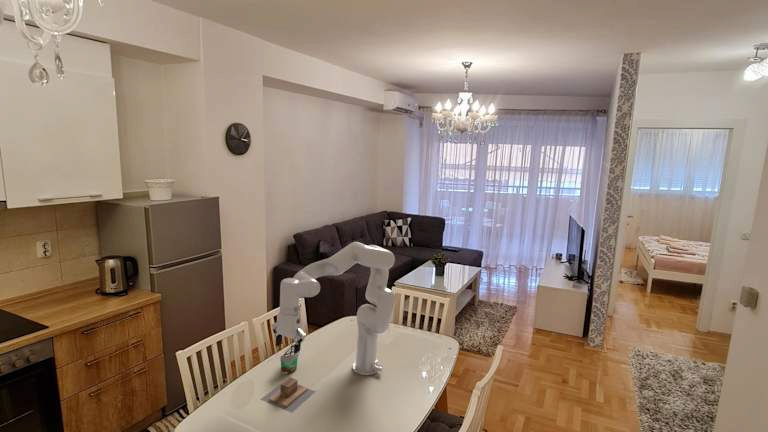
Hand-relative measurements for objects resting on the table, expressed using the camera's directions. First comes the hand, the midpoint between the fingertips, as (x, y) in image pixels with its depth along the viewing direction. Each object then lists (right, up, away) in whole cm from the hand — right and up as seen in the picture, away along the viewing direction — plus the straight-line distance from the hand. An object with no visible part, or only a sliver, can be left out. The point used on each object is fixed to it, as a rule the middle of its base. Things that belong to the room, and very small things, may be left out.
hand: (287, 348), depth 166 cm
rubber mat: (0, -21, +3) cm, 21 cm away
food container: (-3, -18, +22) cm, 28 cm away
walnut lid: (0, -20, +3) cm, 20 cm away
